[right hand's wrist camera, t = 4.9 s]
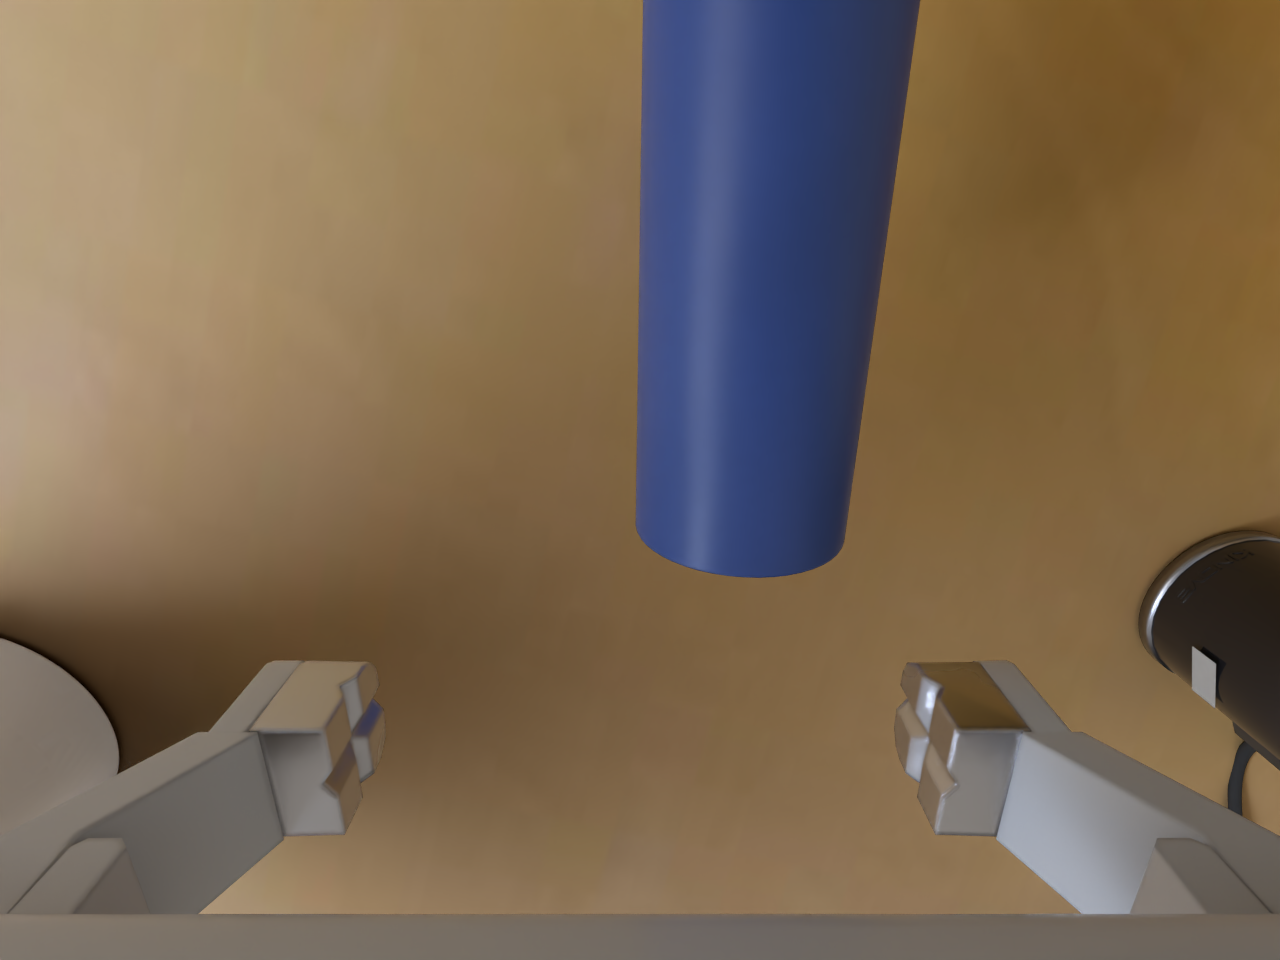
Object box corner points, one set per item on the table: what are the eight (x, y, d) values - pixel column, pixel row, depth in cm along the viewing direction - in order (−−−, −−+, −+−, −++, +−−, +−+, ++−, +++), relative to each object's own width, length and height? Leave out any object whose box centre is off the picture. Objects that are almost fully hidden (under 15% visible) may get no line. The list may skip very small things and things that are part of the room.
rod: (811, 487, 24) (876, 578, 18) (632, 488, 23) (640, 580, 18) (922, -474, 15) (1113, -883, 9) (643, -492, 15) (666, -927, 9)
